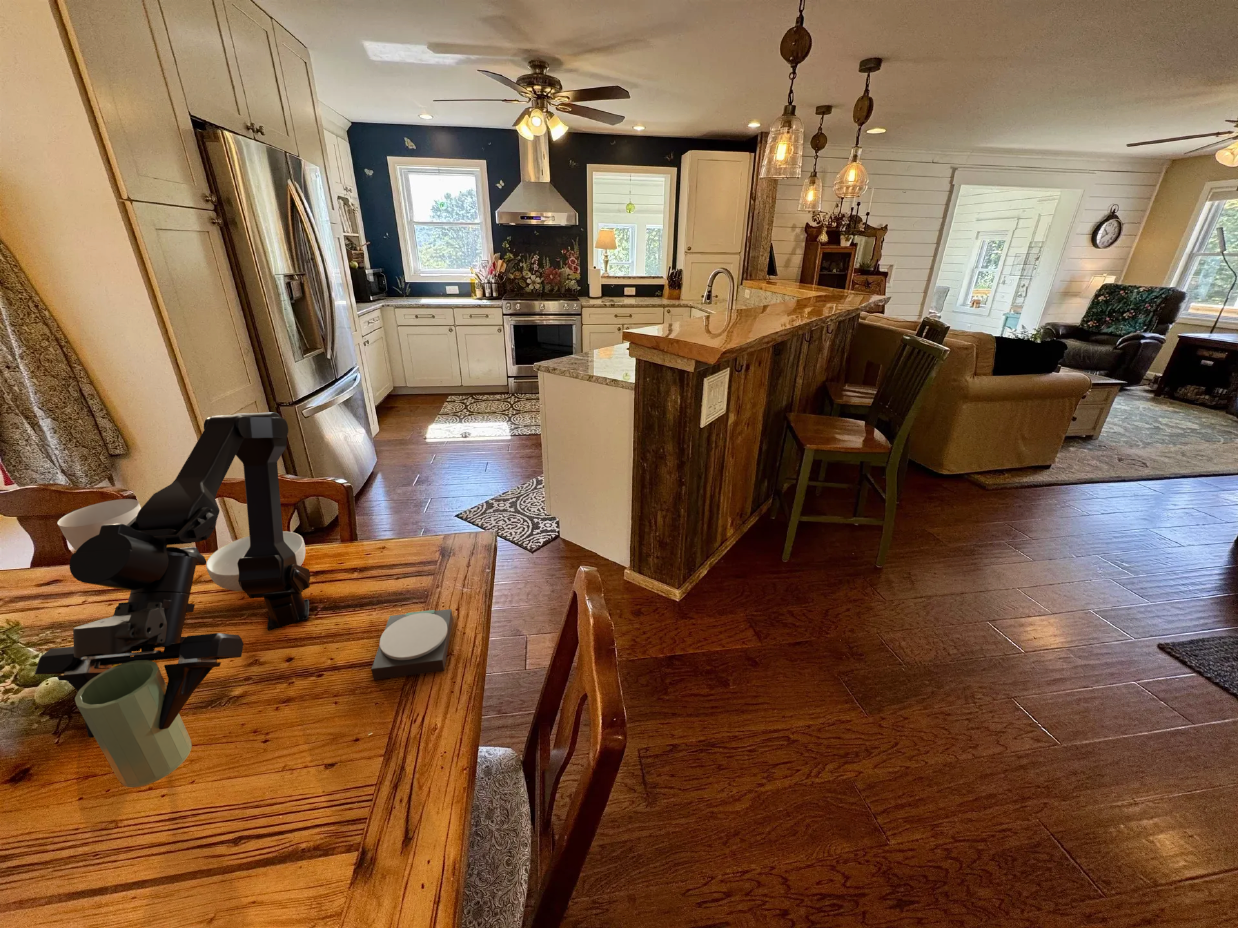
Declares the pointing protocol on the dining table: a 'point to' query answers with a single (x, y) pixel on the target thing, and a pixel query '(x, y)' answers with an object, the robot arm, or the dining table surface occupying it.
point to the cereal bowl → (227, 557)
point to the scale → (413, 644)
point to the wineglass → (96, 519)
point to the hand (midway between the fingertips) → (128, 733)
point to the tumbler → (133, 723)
